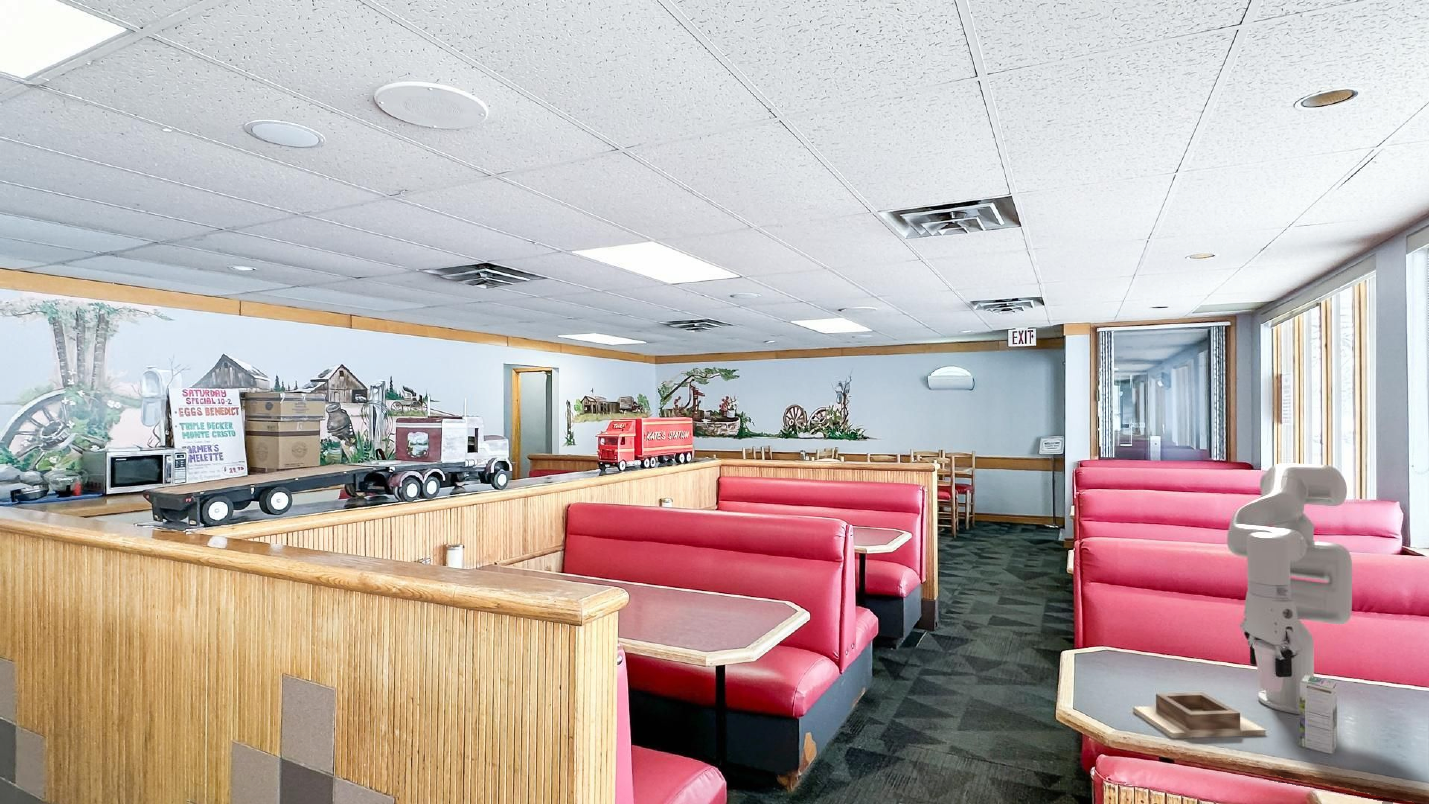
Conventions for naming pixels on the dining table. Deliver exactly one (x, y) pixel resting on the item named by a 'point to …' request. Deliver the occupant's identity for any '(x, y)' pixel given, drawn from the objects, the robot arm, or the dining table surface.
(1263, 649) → the smoothie
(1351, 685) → the dining table surface
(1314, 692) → the syrup box
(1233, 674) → the dining table surface
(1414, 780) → the dining table surface
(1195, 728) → the socket stand
